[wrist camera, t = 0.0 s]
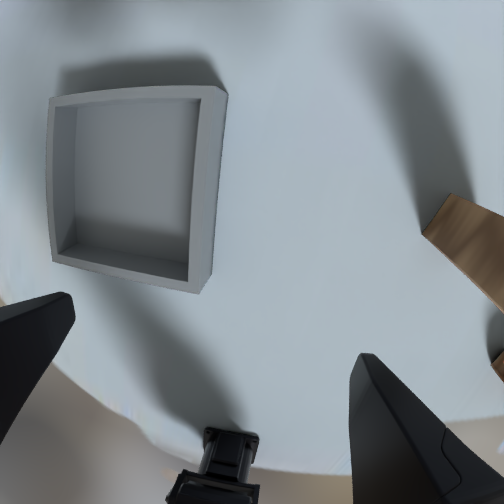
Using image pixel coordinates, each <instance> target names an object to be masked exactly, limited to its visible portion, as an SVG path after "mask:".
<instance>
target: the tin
mask: <svg viewBox="0 0 504 504" xmlns="http://www.w3.org/2000/svg"><path fill="white" fill-rule="evenodd" d="M491 366H492V368H493V369H494V370H495V372H496V373H497V375H498V376H499V377H500V379H501V380H502V381H503V382H504V351H503V352H502V353H501V355H500V356H499V357H498V358H497V359H496V360H495V361H494V362H493V363H492V364H491Z"/></svg>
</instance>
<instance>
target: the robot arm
mask: <svg viewBox="0 0 504 504" xmlns="http://www.w3.org/2000/svg"><path fill="white" fill-rule="evenodd" d="M75 317H76V316H75V310H74V305H73V300H72V297H71V295H70V294H67V293H64V292H56V293H53V294H49V295H45V296H41V297H37V298H33V299H30V300H26V301H22V302H18V303H14V304H10V305H7V306H3V307H0V445H1V443H2V441H3V439H4V437H5V435H6V434H7V432H8V430H9V428H10V427H11V425H12V423H13V422H14V420H15V418H16V416H17V415H18V413H19V411H20V410H21V408H22V406H23V404H24V403H25V402H26V400H27V398H28V397H29V395H30V394H31V392H32V390H33V389H34V387H35V386H36V384H37V383H38V381H39V380H40V378H41V377H42V375H43V373H44V372H45V370H46V369H47V368H48V366H49V365H50V363H51V362H52V360H53V359H54V357H55V355H56V354H57V352H58V350H59V349H60V347H61V345H62V343H63V341H64V340H65V338H66V336H67V334H68V333H69V331H70V329H71V327H72V326H73V324H74V322H75ZM349 438H350V451H351V465H352V484H353V504H504V477H502V476H501V475H500V474H499V473H498V472H496V471H495V470H494V469H493V468H492V467H490V466H489V465H488V464H486V462H484V461H483V460H482V459H481V458H480V457H478V456H477V455H476V454H475V453H474V452H473V451H471V450H470V449H469V448H468V447H467V446H466V445H465V444H464V443H463V442H462V441H461V440H460V439H459V438H457V436H456V435H455V434H454V433H453V432H451V430H450V429H449V428H446V425H445V424H444V423H443V422H442V421H441V420H440V419H439V418H438V417H437V416H436V415H435V414H434V413H433V412H432V411H431V410H430V409H429V408H428V407H427V406H426V405H425V404H424V403H423V402H422V401H421V400H420V399H419V398H418V397H417V396H416V395H415V394H414V393H413V392H412V391H411V390H410V389H409V388H408V387H407V386H406V385H405V384H404V383H403V382H402V381H401V380H400V379H399V378H398V377H397V376H396V375H395V374H394V373H393V372H392V371H391V370H390V369H389V368H388V367H387V366H386V365H385V364H384V363H383V362H382V361H381V360H380V359H379V358H378V357H377V356H375V355H374V354H370V353H361V354H359V356H358V358H357V360H356V363H355V365H354V368H353V370H352V373H351V376H350V386H349ZM259 440H260V439H259V438H258V437H254V436H248V435H242V434H237V433H232V432H227V431H222V430H217V429H213V428H205V430H204V455H203V458H202V461H201V464H200V467H199V470H198V473H194V472H190V471H188V470H186V469H183V471H182V473H181V474H178V477H177V480H176V482H175V485H174V486H173V488H172V489H171V491H170V492H169V494H168V495H167V496H166V499H165V501H166V502H167V504H258V497H259V489H260V485H259V484H255V485H254V484H247V481H248V476H249V471H250V466H251V464H253V463H254V459H255V456H256V452H257V448H258V445H259Z"/></svg>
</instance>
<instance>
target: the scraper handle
mask: <svg viewBox="0 0 504 504" xmlns="http://www.w3.org/2000/svg"><path fill="white" fill-rule="evenodd" d="M422 235H423V236H424V237H425V238H426V239H427V240H429V241H430V242H431V243H432V244H433V245H434V246H435V247H436V248H437V249H438V250H439V251H440V252H441V253H443V254H444V255H445V256H446V257H447V258H448V259H449V260H450V261H451V262H452V263H453V264H454V265H455V266H456V267H457V268H458V269H459V270H460V271H462V272H463V273H464V274H465V275H466V276H467V277H468V278H469V279H470V280H471V281H472V282H473V283H474V284H475V285H476V286H477V287H478V288H479V289H480V290H481V291H482V292H483V293H484V294H485V295H486V296H487V297H488V298H489V299H490V300H491V301H492V302H493V303H494V304H495V305H496V306H497V307H498V308H499V309H500V311H501V312H502V313H503V314H504V217H503V216H501V215H499V214H497V213H494V212H492V211H490V210H488V209H486V208H484V207H481V206H479V205H477V204H475V203H472V202H470V201H468V200H465V199H463V198H461V197H458V196H456V195H453V194H451V193H450V195H449V196H448V198H447V199H446V201H445V202H444V204H443V205H442V207H441V208H440V209H439V211H438V212H437V214H436V215H435V217H434V218H433V219H432V221H431V222H430V223H429V225H428V226H427V228H426V229H425V230H424V232H423V233H422Z"/></svg>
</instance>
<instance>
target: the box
mask: <svg viewBox="0 0 504 504" xmlns="http://www.w3.org/2000/svg"><path fill="white" fill-rule="evenodd" d="M227 103H228V94H227V93H226V92H224V91H223V90H221V89H220V88H218V87H217V86H198V85H175V86H146V87H130V88H118V89H108V90H99V91H90V92H83V93H76V94H70V95H64V96H58V97H52V98H50V99H49V109H48V121H47V139H46V196H47V214H48V226H49V237H50V246H51V254H52V261H53V262H56V263H60V264H64V265H68V266H72V267H76V268H80V269H84V270H88V271H92V272H96V273H101V274H105V275H109V276H114V277H118V278H122V279H127V280H131V281H136V282H140V283H145V284H150V285H154V286H159V287H164V288H169V289H174V290H179V291H184V292H189V293H194V294H200V292H201V290H202V289H203V287H204V286H205V284H206V282H207V281H208V279H209V278H210V276H211V274H212V264H213V250H214V236H215V223H216V211H217V200H218V188H219V178H220V167H221V157H222V147H223V138H224V129H225V120H226V111H227Z"/></svg>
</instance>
